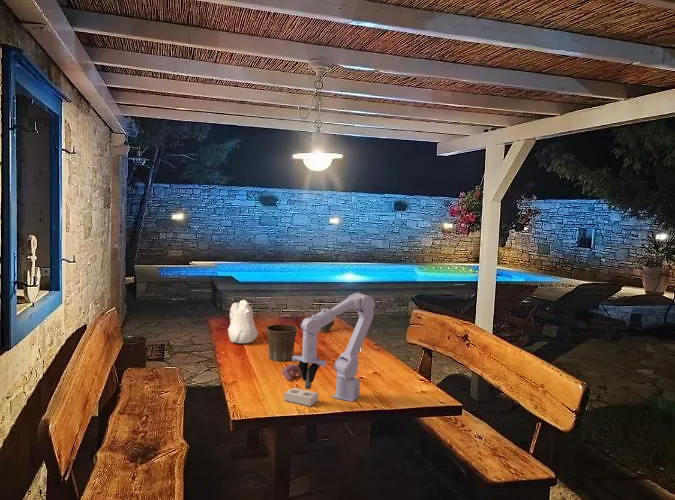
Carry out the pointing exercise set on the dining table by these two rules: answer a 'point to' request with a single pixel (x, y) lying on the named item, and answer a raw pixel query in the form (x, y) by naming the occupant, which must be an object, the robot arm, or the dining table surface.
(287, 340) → the plant pot
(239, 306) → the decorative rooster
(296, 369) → the video game controller
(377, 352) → the dining table surface
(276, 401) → the dining table surface
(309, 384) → the pin
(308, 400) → the bore block
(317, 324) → the robot arm
